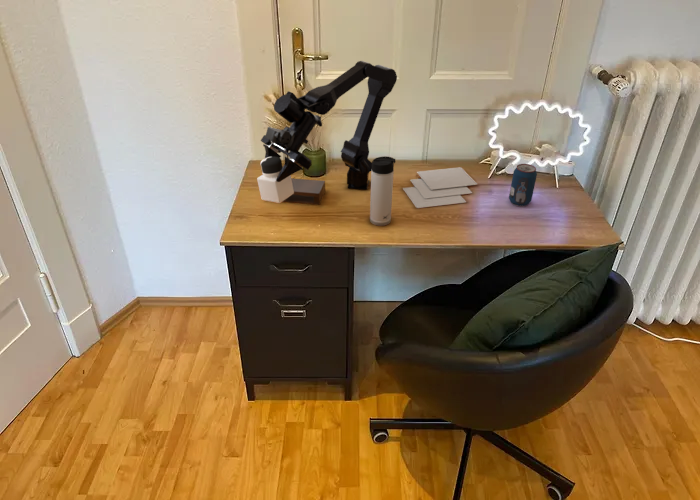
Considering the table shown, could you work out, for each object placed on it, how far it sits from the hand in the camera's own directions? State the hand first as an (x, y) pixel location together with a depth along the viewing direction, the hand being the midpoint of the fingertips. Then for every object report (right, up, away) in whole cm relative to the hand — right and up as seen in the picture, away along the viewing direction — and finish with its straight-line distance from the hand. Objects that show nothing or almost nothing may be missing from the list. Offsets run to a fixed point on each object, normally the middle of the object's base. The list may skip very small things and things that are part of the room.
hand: (269, 176), depth 156 cm
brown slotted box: (+6, -4, +18) cm, 20 cm away
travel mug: (+32, -13, +6) cm, 35 cm away
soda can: (+77, -6, +16) cm, 79 cm away
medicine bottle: (+2, -6, +5) cm, 8 cm away
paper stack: (+53, 0, +24) cm, 58 cm away
